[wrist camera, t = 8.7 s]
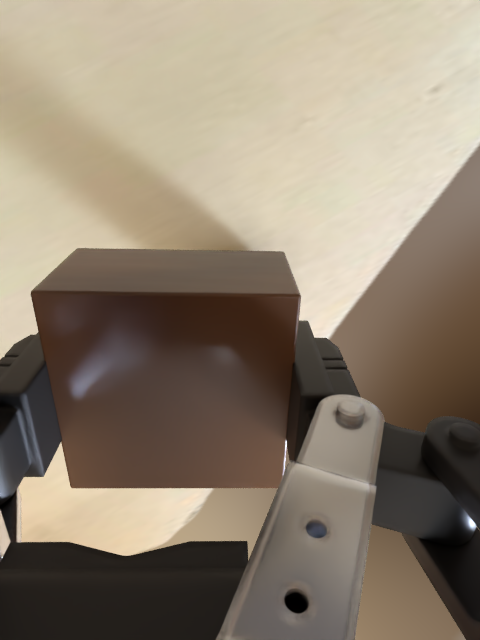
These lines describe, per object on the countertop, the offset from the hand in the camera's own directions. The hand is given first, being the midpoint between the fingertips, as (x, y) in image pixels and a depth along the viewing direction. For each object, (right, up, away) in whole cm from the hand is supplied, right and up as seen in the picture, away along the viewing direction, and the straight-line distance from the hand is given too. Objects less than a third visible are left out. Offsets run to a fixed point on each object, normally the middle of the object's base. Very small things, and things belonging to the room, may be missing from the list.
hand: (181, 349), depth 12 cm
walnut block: (0, 0, 0) cm, 1 cm away
